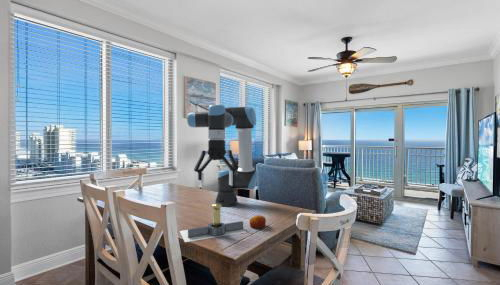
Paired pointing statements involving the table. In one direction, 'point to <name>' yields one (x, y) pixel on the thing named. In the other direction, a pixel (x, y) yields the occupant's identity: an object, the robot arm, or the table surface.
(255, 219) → the fruit
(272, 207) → the table surface
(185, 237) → the board
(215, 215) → the pin
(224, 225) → the gray bar with ring
